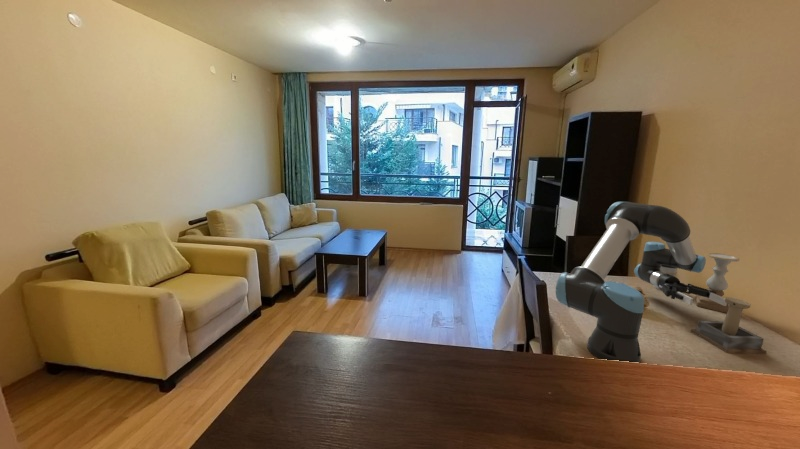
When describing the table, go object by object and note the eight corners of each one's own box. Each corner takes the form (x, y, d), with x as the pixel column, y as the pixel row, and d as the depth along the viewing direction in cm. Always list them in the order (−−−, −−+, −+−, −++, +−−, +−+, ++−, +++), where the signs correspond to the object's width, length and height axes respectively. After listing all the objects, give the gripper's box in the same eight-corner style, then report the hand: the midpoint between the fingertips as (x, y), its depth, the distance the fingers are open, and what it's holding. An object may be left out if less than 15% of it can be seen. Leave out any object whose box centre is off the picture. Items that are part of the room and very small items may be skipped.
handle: (735, 345, 117) (747, 306, 113) (712, 335, 122) (723, 298, 119) (741, 342, 119) (753, 304, 116) (718, 333, 124) (729, 296, 121)
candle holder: (695, 298, 159) (706, 251, 154) (726, 305, 152) (739, 256, 147) (696, 306, 151) (707, 256, 146) (729, 313, 144) (743, 261, 139)
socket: (726, 352, 114) (729, 339, 113) (690, 331, 127) (693, 319, 126) (766, 353, 114) (769, 340, 113) (726, 332, 128) (729, 320, 127)
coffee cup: (653, 289, 169) (658, 261, 166) (649, 283, 177) (655, 256, 174) (675, 293, 165) (681, 264, 162) (670, 287, 173) (676, 259, 170)
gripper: (690, 290, 150) (738, 312, 129) (636, 288, 149) (675, 310, 128) (694, 274, 148) (742, 294, 127) (639, 273, 148) (679, 292, 127)
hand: (708, 302), depth 128 cm, fingers open, 13 cm apart
